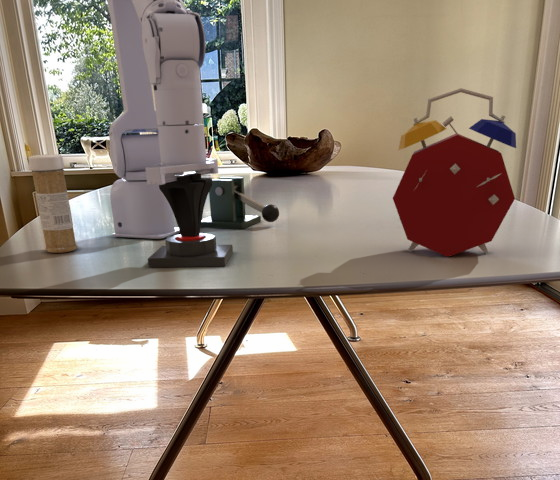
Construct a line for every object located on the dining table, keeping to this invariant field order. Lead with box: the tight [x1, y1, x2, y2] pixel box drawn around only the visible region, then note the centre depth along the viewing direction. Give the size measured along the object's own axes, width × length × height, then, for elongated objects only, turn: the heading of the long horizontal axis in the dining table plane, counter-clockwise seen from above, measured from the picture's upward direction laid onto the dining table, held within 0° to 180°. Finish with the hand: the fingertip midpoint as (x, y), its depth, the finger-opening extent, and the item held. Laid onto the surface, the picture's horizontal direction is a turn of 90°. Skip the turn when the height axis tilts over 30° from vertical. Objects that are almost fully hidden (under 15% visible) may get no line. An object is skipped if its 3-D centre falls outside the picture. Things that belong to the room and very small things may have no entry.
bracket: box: [201, 176, 262, 230], centre depth 105 cm, size 9×8×8 cm
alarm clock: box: [392, 87, 517, 258], centre depth 75 cm, size 15×9×20 cm, turn 76°
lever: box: [222, 179, 280, 223], centre depth 103 cm, size 12×3×3 cm, turn 68°
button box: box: [147, 232, 234, 268], centre depth 80 cm, size 10×8×3 cm
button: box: [177, 234, 204, 241], centre depth 80 cm, size 4×4×2 cm
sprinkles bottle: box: [27, 153, 78, 254], centre depth 86 cm, size 5×5×14 cm
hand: (190, 235), depth 79 cm, fingers closed, pressing on button
